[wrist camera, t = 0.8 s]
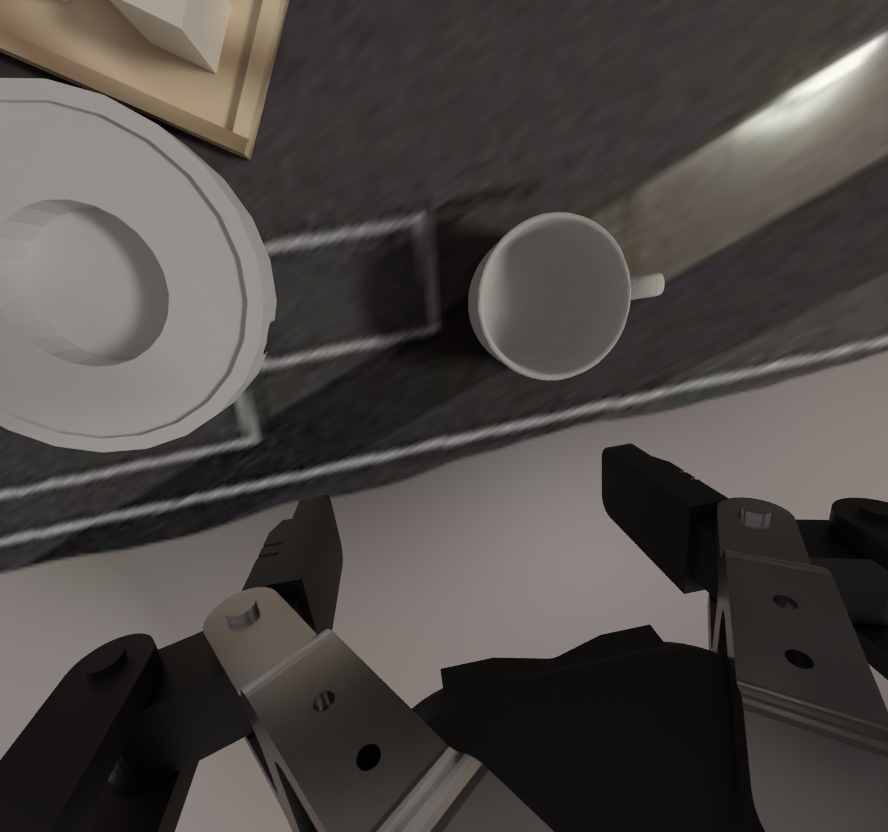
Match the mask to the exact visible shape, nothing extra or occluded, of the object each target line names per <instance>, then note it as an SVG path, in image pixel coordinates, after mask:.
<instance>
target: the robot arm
mask: <svg viewBox="0 0 888 832" xmlns="http://www.w3.org/2000/svg"><path fill="white" fill-rule="evenodd" d="M602 500H603V504H604V507H605V510H606V512H607V514H608V515H609V516H610V518H611V519H612V520H613V521H614V522H615V523H616V524H617V525H618V526H619V527H620V528H621V529H622V530H623V531H624V532H625V533H626V534H627V535H628V536H629V537H630V538H631V539H632V540H633V541H634V542H635V544H637V546H639V548H640V549H641V550H642V551H643V552H644V553H645V554H646V555H647V556H648V557H649V558H650V559H651V560H652V561H653V562H654V563H655V564H656V565H657V566H658V567H659V568H660V569H661V570H662V572H663V573H665V575H666V576H667V577H668V578H669V579H670V580H671V581H672V582H673V583H674V584H675V585H676V586H677V587H678V588H679V589H680V590H681V591H682V592H683V593H684V594H686V593H691V592H696V591H701V590H707V592H709V596H708V635H709V650H707V649H703V648H700V647H696V646H692V645H687V644H682V643H673V642H663V641H662V640H661V638H660V637H659V636H658V634H657V633H656V632H655V631H654V629H653V628H652V627H651V625H646V626H641V627H636V628H632V629H627V630H622V631H617V632H613V633H608V634H603V635H600V636H598V637H596V638H594V639H592V640H590V641H588V642H586V643H584V644H582V645H580V646H578V647H576V648H574V649H572V650H570V651H568V652H566V653H564V654H562V655H560V656H558V657H555V658H551V659H533V658H529V659H528V658H490V659H485V660H481V661H476V662H471V663H467V664H462V665H458V666H453V667H448V668H443V669H441V675H442V683H443V688H442V689H440V690H439V691H437V692H435V693H433V694H431V695H430V696H428V697H427V698H425V699H424V700H422V701H421V702H420V703H419V704H417V705H416V706H415V707H414V708H412V709H411V708H410V707H409V706H408V705H407V704H406V703H405V702H404V701H403V700H402V699H401V698H400V697H399V696H398V695H397V694H396V693H395V692H394V691H393V690H392V689H390V688H389V686H387V684H386V683H385V682H383V681H382V680H381V679H380V678H379V677H378V676H377V675H376V674H375V673H374V672H373V671H372V670H371V669H370V668H369V667H368V666H367V665H366V664H365V663H364V662H363V661H362V660H361V659H360V658H359V657H358V656H357V655H356V654H355V653H354V652H353V651H352V650H351V649H350V648H349V647H348V646H347V645H346V644H345V643H344V642H343V641H342V640H341V639H340V638H339V637H338V636H337V635H336V634H335V633H334V632H333V631H332V628H333V621H334V614H335V609H336V603H337V596H338V590H339V584H340V577H341V571H342V563H343V556H342V547H341V541H340V537H339V533H338V528H337V524H336V520H335V516H334V512H333V507H332V503H331V500H330V497H329V496H328V495H324V496H318V497H312V498H307V499H301V500H300V501H299V503H298V506H297V508H296V511H295V513H294V516H293V518H292V519H288V520H283V521H281V522H280V523H279V524H278V525H277V526H276V527H275V528H274V529H273V530H272V531H271V532H270V533H269V535H268V537H267V539H266V541H265V543H264V548H262V549H261V552H260V554H259V558H258V559H257V560H256V562H255V564H254V566H253V568H252V570H251V573H250V575H249V577H248V579H247V581H246V583H245V585H244V587H243V589H242V591H241V592H239V593H236V594H234V595H232V596H231V597H229V598H227V599H226V600H224V601H223V602H221V603H220V604H219V605H218V606H217V607H216V608H214V610H213V611H212V612H211V613H210V614H209V616H208V617H207V619H206V621H205V623H204V626H203V631H202V632H200V633H197V634H195V635H193V636H190V637H188V638H186V639H183V640H181V641H178V642H176V643H174V644H171V645H169V646H166V647H164V648H161V649H159V650H158V649H157V647H156V644H155V643H154V640H153V638H152V637H151V636H149V635H147V634H131V635H127V636H124V637H120V638H117V639H115V640H112V641H110V642H108V643H106V644H104V645H102V646H101V647H99V648H97V649H95V650H94V651H92V652H91V653H89V654H88V655H87V656H85V657H84V658H83V659H81V660H80V661H79V662H78V663H77V664H75V665H74V667H72V668H71V670H70V671H69V672H68V673H67V674H66V675H65V676H64V678H63V679H62V680H61V682H60V683H59V684H58V686H57V687H56V688H55V689H54V691H53V692H52V693H51V695H50V696H49V697H48V699H47V700H46V701H45V703H44V704H43V705H42V706H41V708H40V709H39V710H38V712H37V713H36V714H35V716H34V717H33V718H32V719H31V721H30V722H29V723H28V725H27V726H26V727H25V729H24V730H23V731H22V733H21V734H20V735H19V737H18V738H17V739H16V741H15V742H14V743H13V744H12V746H11V747H10V748H9V750H8V751H7V752H6V754H5V755H4V756H3V757H2V759H1V760H0V832H175V829H176V826H177V823H178V820H179V817H180V815H181V811H182V809H183V805H184V803H185V800H186V797H187V794H188V791H189V788H190V785H191V782H192V779H193V776H194V774H195V770H196V768H197V765H198V762H199V760H201V759H203V758H205V757H207V756H209V755H211V754H213V753H215V752H216V751H218V750H220V749H222V748H224V747H226V746H228V745H230V744H232V743H234V742H236V741H237V740H240V739H241V738H243V737H245V740H246V742H247V744H248V746H249V747H250V749H251V751H252V753H253V755H254V757H255V759H256V761H257V763H258V764H259V766H260V768H261V770H262V772H263V774H264V776H265V778H266V779H267V782H268V783H269V785H270V787H271V789H272V791H273V793H274V795H275V797H276V799H277V801H278V802H279V804H280V806H281V808H282V810H283V812H284V814H285V816H286V818H287V820H288V823H289V825H290V827H291V829H292V832H888V711H887V708H886V706H885V703H884V701H883V699H882V696H881V694H880V691H879V689H878V687H877V684H876V682H875V679H874V677H873V674H872V672H871V669H870V667H869V664H870V665H871V666H872V667H873V668H874V669H875V670H877V671H878V672H879V673H880V674H881V675H883V676H884V677H885V678H886V679H887V680H888V502H883V501H879V500H873V499H866V498H844V499H840V500H837V501H835V502H834V503H833V504H832V508H831V513H830V518H829V520H795V518H794V516H793V515H792V514H791V513H790V512H789V511H787V510H786V509H784V508H782V507H780V506H778V505H776V504H773V503H770V502H767V501H763V500H758V499H752V498H730V499H728V498H727V497H725V496H724V495H722V494H720V493H719V492H717V491H716V490H714V489H712V488H711V487H709V486H708V485H706V484H704V483H703V482H701V481H700V480H695V477H693V476H691V475H690V474H688V473H684V471H683V470H682V469H680V468H679V467H677V466H675V465H674V464H672V463H671V462H668V461H665V460H662V459H659V458H656V457H653V456H650V455H649V454H647V453H646V452H644V451H642V450H641V449H639V448H638V447H636V446H635V445H633V444H626V445H619V446H614V447H608V448H605V449H604V450H603V453H602Z"/></svg>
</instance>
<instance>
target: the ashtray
mask: <svg viewBox="0 0 888 832" xmlns="http://www.w3.org/2000/svg"><path fill="white" fill-rule="evenodd" d="M276 302H277V301H276V294H275V288H274V282H273V275H272V269H271V263H270V259H269V256H268V254H267V252H266V249H265V247H264V244H263V242H262V240H261V237H260V235H259V233H258V230H257V228H256V226H255V223H254V221H253V219H252V217H251V216H250V214H249V213H248V212H247V210H246V209H245V207H244V206H243V205H242V203H241V202H240V201H239V199H238V198H237V196H236V195H235V194H234V192H233V191H232V190H231V188H230V187H229V185H228V184H227V183H226V181H225V180H224V179H223V178H222V177H221V176H220V175H219V174H218V173H217V172H215V171H214V170H213V169H212V168H211V167H210V166H209V165H208V164H206V163H205V162H204V161H203V160H202V159H201V158H200V157H198V156H197V155H196V154H195V153H194V152H193V151H192V150H191V149H189V148H188V147H187V146H186V145H185V144H183V143H182V142H181V141H179V140H178V139H177V138H175V137H174V136H173V135H171V134H170V133H169V132H167V131H166V130H165V129H163V128H162V127H160V126H159V125H158V124H156V123H154V122H152V121H150V120H149V119H147V118H145V117H143V116H141V115H140V114H138V113H136V112H134V111H132V110H131V109H129V108H127V107H125V106H123V105H121V104H120V103H118V102H116V101H114V100H112V99H111V98H109V97H107V96H105V95H102V94H99V93H95V92H92V91H88V90H85V89H81V88H77V87H74V86H70V85H67V84H63V83H60V82H56V81H52V80H49V79H41V78H0V426H2V427H4V428H6V429H7V430H10V431H13V432H16V433H19V434H22V435H25V436H27V437H30V438H33V439H36V440H39V441H42V442H45V443H48V444H50V445H53V446H58V447H65V448H73V449H80V450H88V451H95V452H113V451H125V450H137V449H147V448H150V447H153V446H156V445H159V444H162V443H165V442H168V441H171V440H174V439H177V438H180V437H183V436H185V435H187V434H189V433H190V432H192V431H193V430H195V429H196V428H198V427H199V426H201V425H202V424H204V423H205V422H207V421H208V420H210V419H211V418H212V417H214V416H215V415H217V414H218V413H220V412H221V411H222V410H224V409H225V408H227V407H228V406H229V405H231V404H232V403H233V402H235V401H236V400H237V399H238V397H239V396H240V395H241V394H242V393H243V391H244V390H245V389H246V388H247V387H248V385H249V384H250V383H251V382H252V380H253V379H254V378H255V377H256V376H257V374H258V373H259V371H260V368H261V366H262V363H263V361H264V359H265V356H266V353H267V352H265V353H264V349H265V345H266V343H267V334H268V328H269V324H270V322H272V321H274V320H275V311H276Z"/></svg>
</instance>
